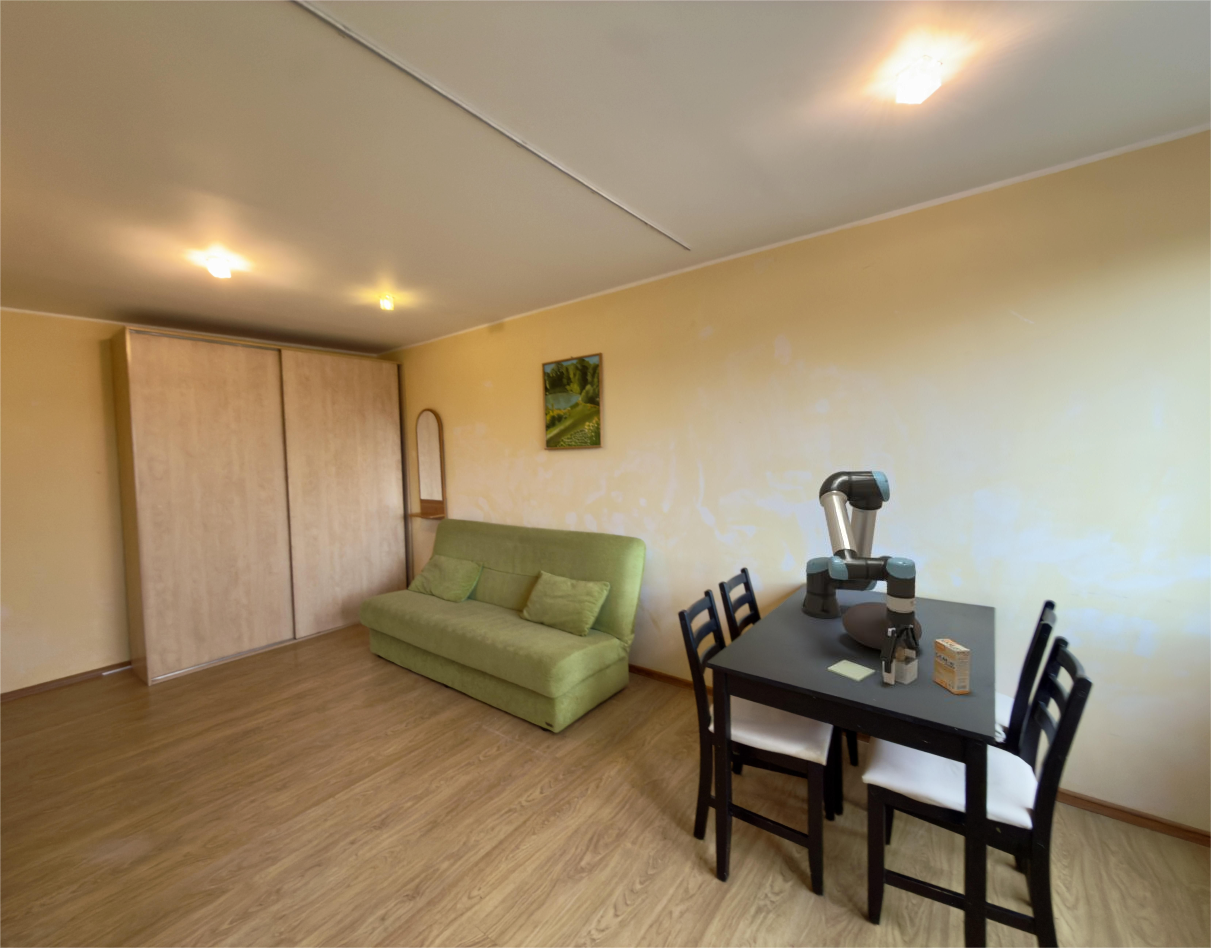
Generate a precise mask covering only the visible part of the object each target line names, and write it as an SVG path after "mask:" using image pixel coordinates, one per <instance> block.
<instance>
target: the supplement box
mask: <svg viewBox="0 0 1211 948" xmlns="http://www.w3.org/2000/svg"><path fill="white" fill-rule="evenodd" d="M970 665H971V649H969V648H966V647H965V646H963V645H961V644H959V643H957V642H955V641H953V640H952V639H949V638H940V639H935V640H934V665H933V671H934V672H933V681H934V682H935V683H937V684H938V685H940V686H942V687H943V688H945V689H946V690H948V691H950V692H951V693H952V694H954V695H962V694H965V695H966V694H970V676H971V675H970V674H971V673H970V670H971V669H970V668H971V667H970Z"/></svg>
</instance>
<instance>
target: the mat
mask: <svg viewBox="0 0 1211 948" xmlns="http://www.w3.org/2000/svg"><path fill="white" fill-rule="evenodd" d="M827 671H828V672H832V673H835V674H837V675H839V676H842V677H845V678H847V679H850V680H853V681H855V682H861V681H863V680H864V679H866V678H868V677H870V676H871V675H874V674H876V670H874V669H871V668H869V667H866V666H863V665H860V664H857V663H856V662H855V663H854V662H852V661H849V660H847V659H843V660H841V661H839V662H836V664H833V665H832V666H829V667H828V668H827Z"/></svg>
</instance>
